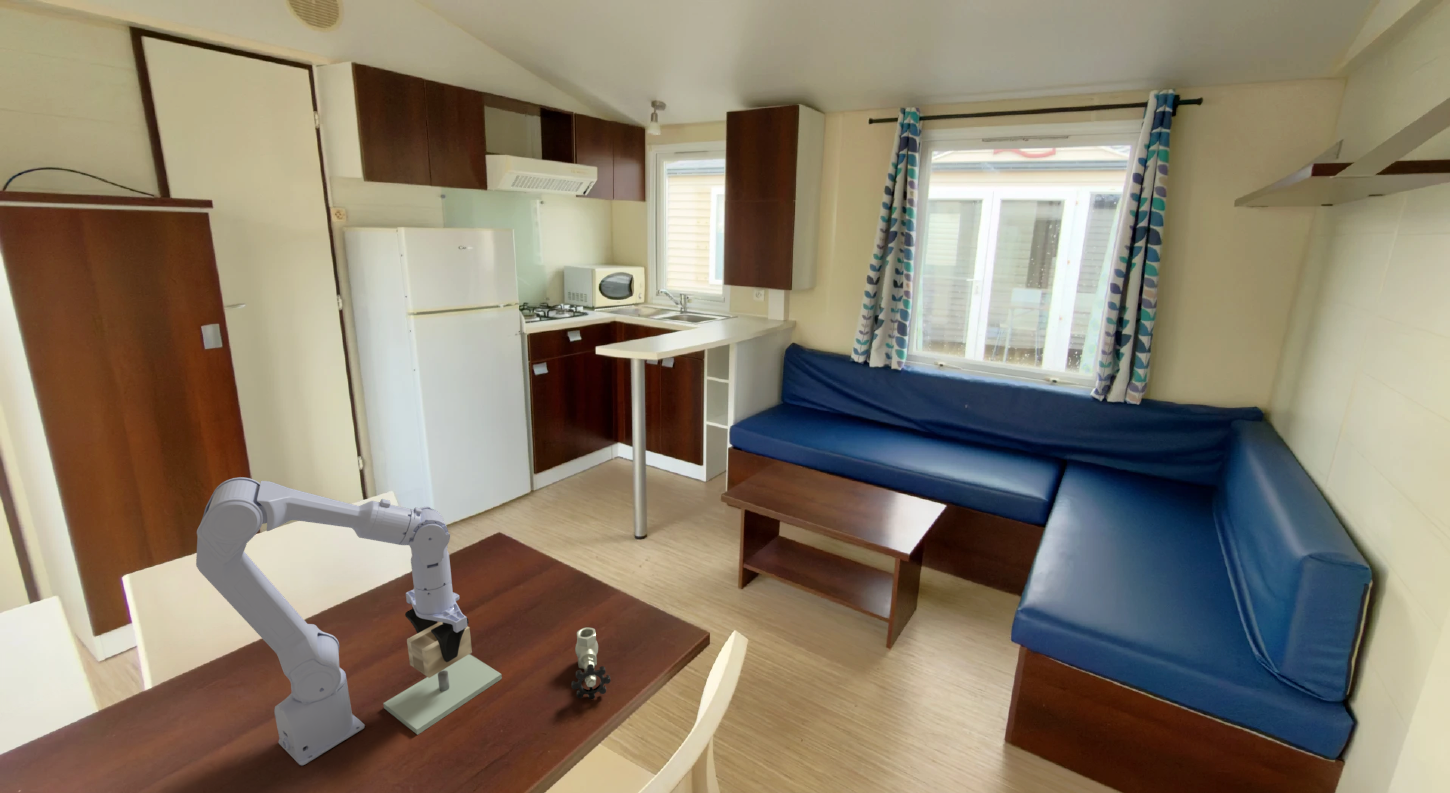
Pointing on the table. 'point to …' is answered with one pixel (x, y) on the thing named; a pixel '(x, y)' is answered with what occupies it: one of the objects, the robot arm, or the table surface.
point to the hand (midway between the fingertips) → (440, 651)
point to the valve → (588, 664)
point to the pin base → (441, 693)
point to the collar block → (433, 651)
